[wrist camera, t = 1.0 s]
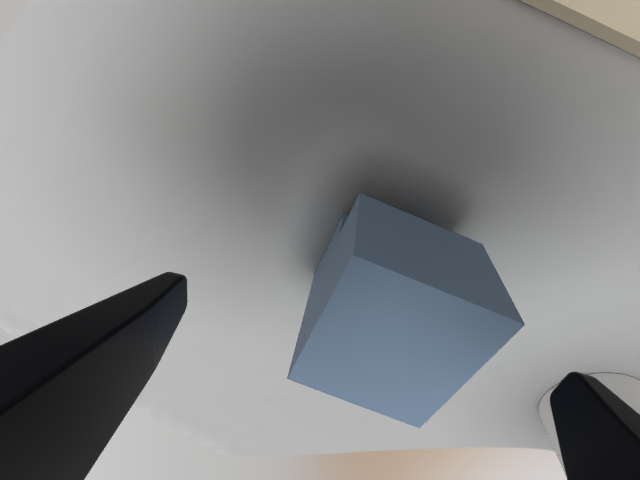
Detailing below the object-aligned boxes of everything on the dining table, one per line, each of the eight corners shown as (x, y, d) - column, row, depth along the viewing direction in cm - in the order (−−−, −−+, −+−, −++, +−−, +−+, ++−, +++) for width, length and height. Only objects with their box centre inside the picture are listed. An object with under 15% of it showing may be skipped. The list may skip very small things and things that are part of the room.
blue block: (469, 220, 19) (525, 324, 12) (399, 319, 23) (409, 437, 16) (361, 175, 18) (353, 254, 11) (310, 283, 22) (281, 389, 16)
